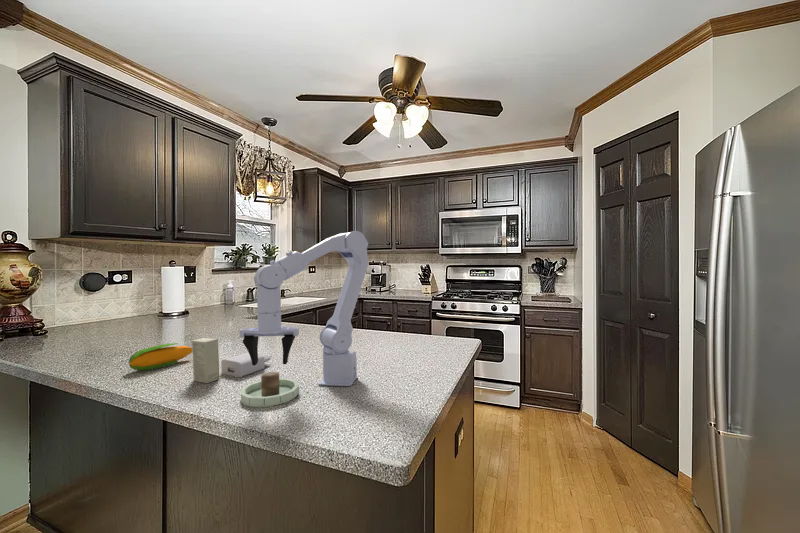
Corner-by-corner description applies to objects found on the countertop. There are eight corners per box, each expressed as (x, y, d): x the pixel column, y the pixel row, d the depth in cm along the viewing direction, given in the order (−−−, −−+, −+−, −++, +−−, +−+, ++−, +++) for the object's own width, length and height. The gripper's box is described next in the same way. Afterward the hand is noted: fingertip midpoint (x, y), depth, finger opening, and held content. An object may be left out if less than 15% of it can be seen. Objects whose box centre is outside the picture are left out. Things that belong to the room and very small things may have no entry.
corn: (123, 348, 110) (187, 336, 128) (123, 372, 110) (186, 356, 128) (135, 353, 107) (199, 339, 124) (134, 377, 107) (198, 360, 125)
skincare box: (220, 379, 103) (219, 338, 103) (206, 384, 99) (205, 342, 99) (205, 376, 106) (205, 336, 106) (191, 381, 102) (191, 340, 102)
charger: (279, 364, 118) (241, 378, 105) (260, 361, 122) (221, 373, 109) (279, 351, 118) (240, 362, 105) (260, 348, 122) (221, 359, 109)
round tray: (306, 386, 96) (306, 379, 96) (284, 408, 83) (284, 399, 83) (258, 385, 98) (258, 377, 98) (229, 406, 84) (229, 397, 84)
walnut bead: (281, 390, 93) (280, 371, 93) (277, 396, 88) (277, 377, 88) (264, 390, 92) (263, 372, 92) (259, 397, 88) (259, 377, 88)
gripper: (300, 309, 94) (301, 358, 95) (246, 310, 93) (247, 360, 93) (295, 312, 87) (296, 366, 88) (235, 314, 86) (237, 368, 86)
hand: (270, 363), depth 90 cm, fingers open, 7 cm apart
